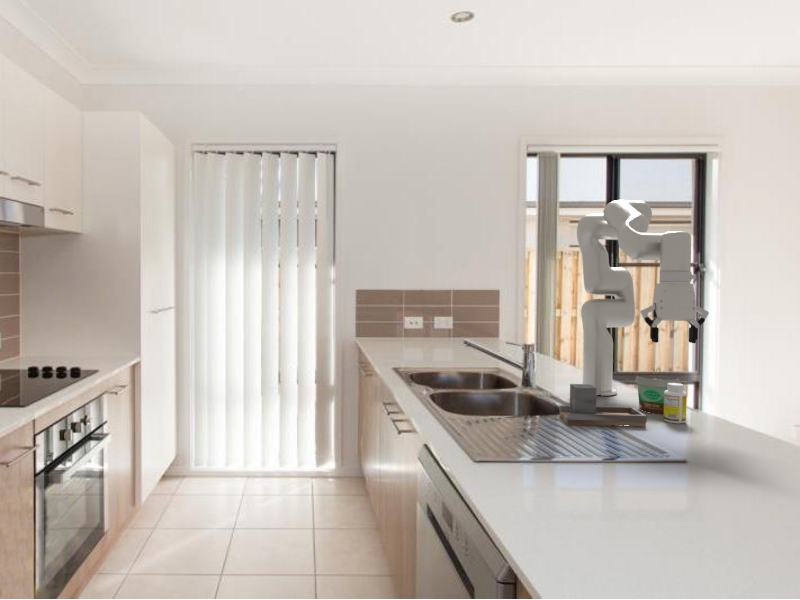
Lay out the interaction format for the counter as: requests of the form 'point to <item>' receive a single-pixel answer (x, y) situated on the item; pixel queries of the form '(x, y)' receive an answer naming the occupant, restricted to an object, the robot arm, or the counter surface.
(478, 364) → the counter surface
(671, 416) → the supplement bottle
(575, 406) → the wooden tray
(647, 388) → the food container
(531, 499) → the counter surface
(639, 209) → the robot arm
